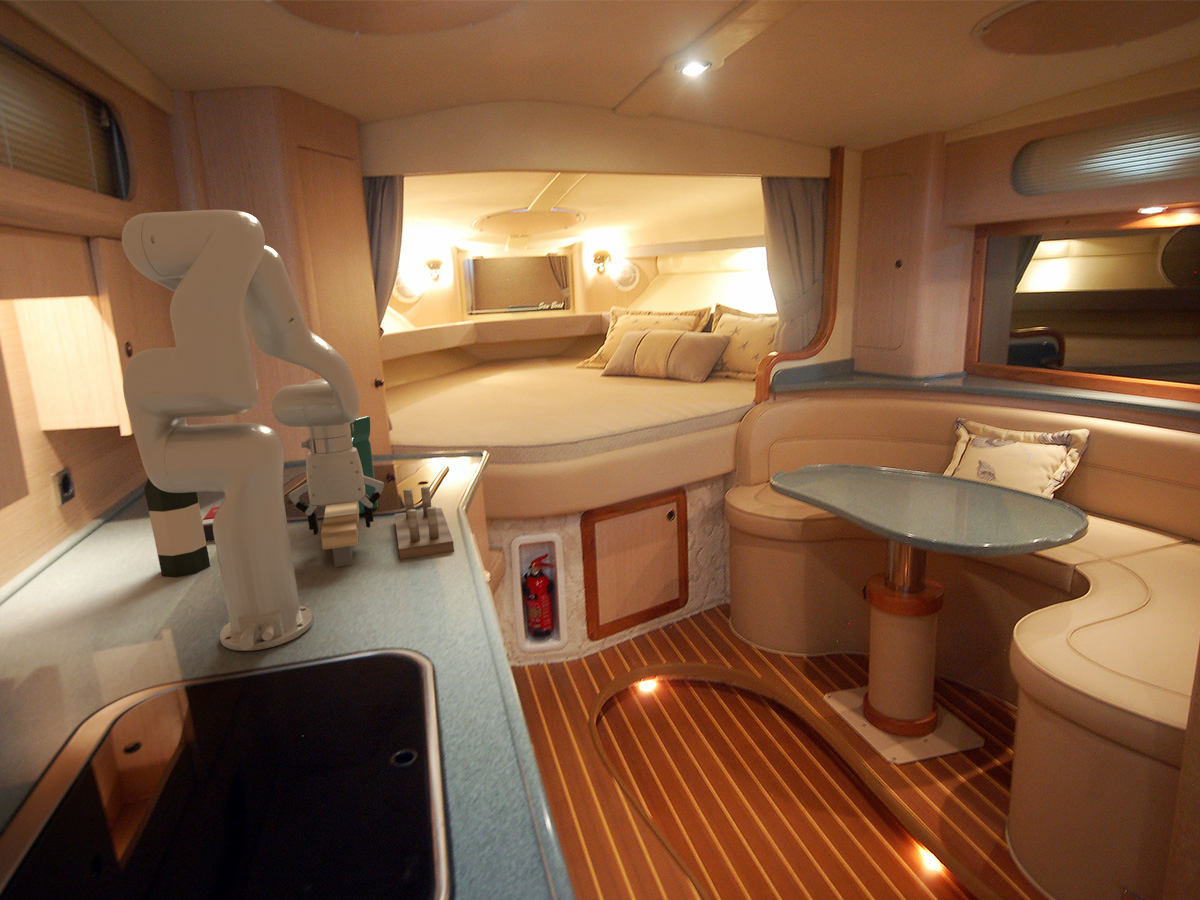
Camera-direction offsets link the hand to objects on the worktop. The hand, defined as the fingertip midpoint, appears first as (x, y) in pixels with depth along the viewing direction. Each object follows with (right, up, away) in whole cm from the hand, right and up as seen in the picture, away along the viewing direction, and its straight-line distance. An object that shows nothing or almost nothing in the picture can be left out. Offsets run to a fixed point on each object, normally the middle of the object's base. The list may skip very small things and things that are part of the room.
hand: (342, 529), depth 134 cm
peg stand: (+14, -2, +5) cm, 15 cm away
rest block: (0, -4, +1) cm, 4 cm away
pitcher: (-6, +1, +24) cm, 24 cm away
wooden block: (0, 0, 0) cm, 0 cm away
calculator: (-30, -2, +16) cm, 34 cm away
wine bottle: (-27, -7, -6) cm, 28 cm away
